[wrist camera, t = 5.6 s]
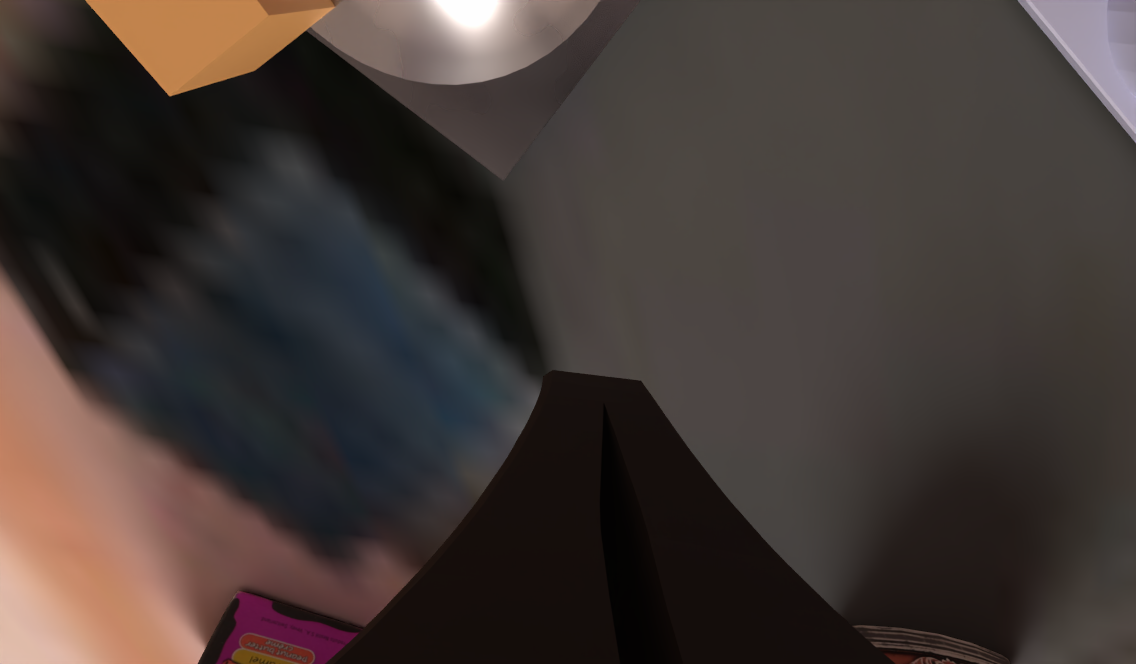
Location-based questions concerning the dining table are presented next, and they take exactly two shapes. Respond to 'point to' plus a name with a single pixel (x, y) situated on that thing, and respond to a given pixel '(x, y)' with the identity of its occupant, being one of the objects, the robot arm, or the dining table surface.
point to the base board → (504, 93)
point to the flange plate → (341, 35)
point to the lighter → (927, 647)
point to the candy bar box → (274, 634)
